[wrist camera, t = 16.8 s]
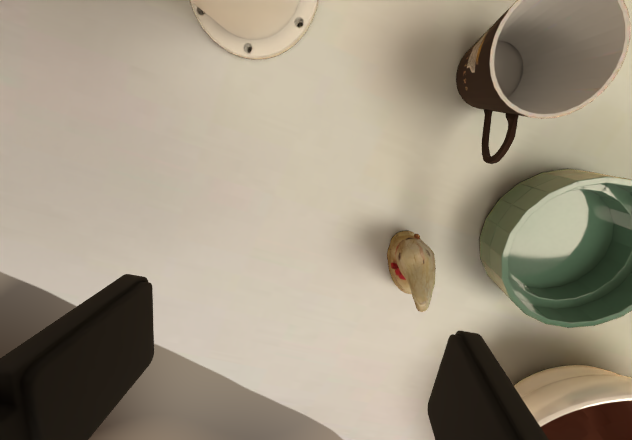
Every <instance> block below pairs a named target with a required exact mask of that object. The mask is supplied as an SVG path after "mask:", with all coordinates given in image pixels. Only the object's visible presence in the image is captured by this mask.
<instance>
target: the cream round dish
mask: <svg viewBox="0 0 632 440" xmlns="http://www.w3.org/2000/svg"><path fill="white" fill-rule="evenodd" d="M514 387H515V389H516V390H517V392H518V393H519V395H520V396H521V398H522V399H523V401H524V403H525V404H526V406H527V407H528V409H529V410H530V412H531V413H532V415H533V416H534V418H535V419H536V421H537V422H538V424H539V425H540V427H541V429H542V430H543V432H544V433H545V435H546V436H547V438H548V439H549V440H632V377H628V376H622V375H620V374H617V373H614V372H611V371H608V370H605V369H601V368H597V367H592V366H583V365H569V366H560V367H554V368H550V369H546V370H543V371H540V372H537V373H535V374H533V375H530V376H529V377H527V378H525V379H523V380H521V381H520V382H518V383H517V384H516V385H514Z"/></svg>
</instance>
